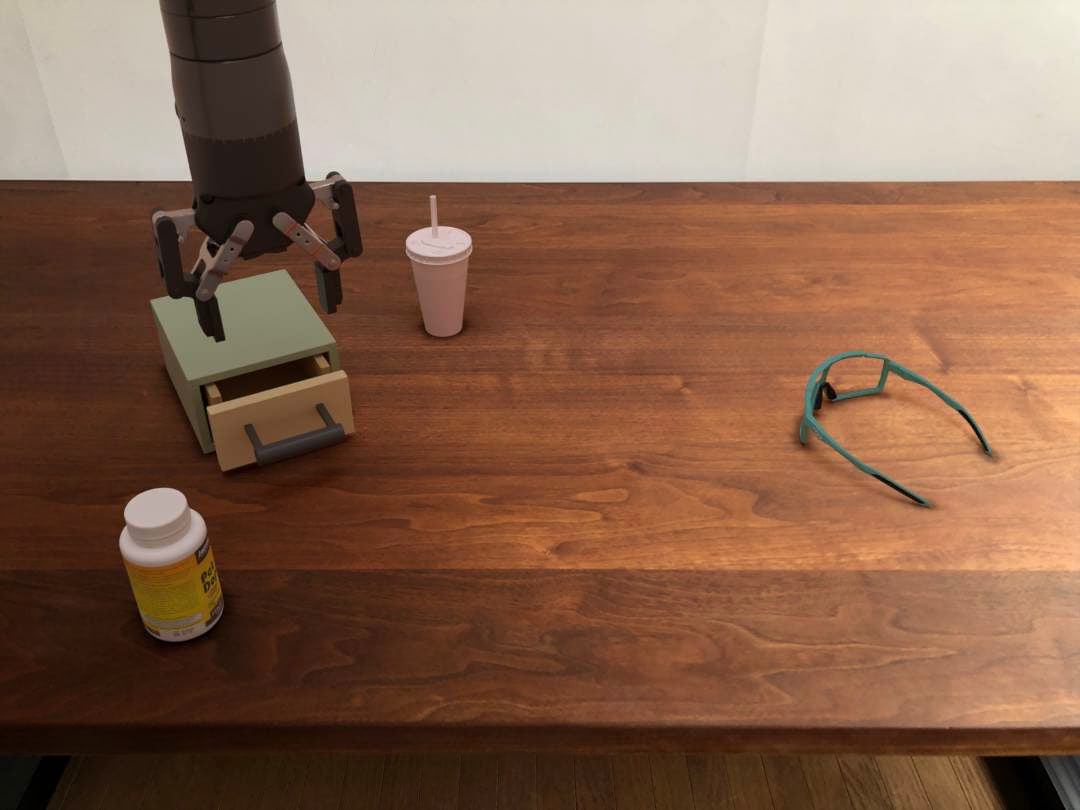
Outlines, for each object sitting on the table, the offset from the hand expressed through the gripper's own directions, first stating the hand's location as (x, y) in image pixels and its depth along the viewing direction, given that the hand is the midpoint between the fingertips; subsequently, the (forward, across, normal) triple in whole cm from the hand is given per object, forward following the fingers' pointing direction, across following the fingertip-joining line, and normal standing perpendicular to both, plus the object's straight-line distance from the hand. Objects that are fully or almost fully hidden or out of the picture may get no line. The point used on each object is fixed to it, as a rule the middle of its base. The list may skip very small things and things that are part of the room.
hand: (274, 322), depth 79 cm
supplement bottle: (+14, -12, -12) cm, 22 cm away
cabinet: (+14, 0, +13) cm, 20 cm away
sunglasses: (+15, +46, -20) cm, 52 cm away
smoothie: (+15, +20, +15) cm, 29 cm away
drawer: (+13, 0, +6) cm, 15 cm away
